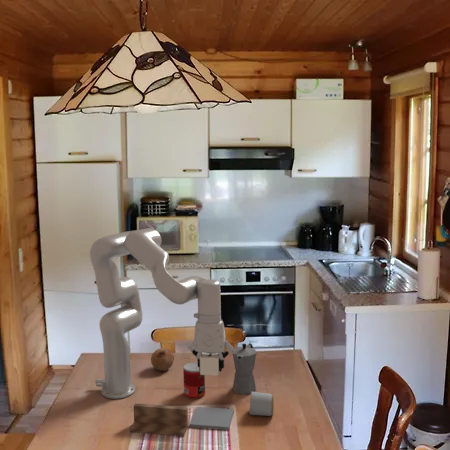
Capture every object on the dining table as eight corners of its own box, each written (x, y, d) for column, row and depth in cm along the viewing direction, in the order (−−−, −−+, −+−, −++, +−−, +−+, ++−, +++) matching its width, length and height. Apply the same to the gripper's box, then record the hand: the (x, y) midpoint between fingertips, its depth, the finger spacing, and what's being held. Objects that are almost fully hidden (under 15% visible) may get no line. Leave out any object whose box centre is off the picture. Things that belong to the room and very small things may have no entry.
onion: (164, 379, 223) (162, 363, 217) (147, 369, 227) (145, 353, 221) (179, 364, 229) (178, 348, 223) (161, 354, 234) (160, 338, 228)
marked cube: (200, 374, 180) (199, 357, 179) (204, 367, 186) (203, 350, 185) (218, 375, 179) (217, 357, 178) (221, 368, 185) (220, 350, 184)
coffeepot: (250, 398, 200) (250, 351, 197) (226, 394, 203) (226, 348, 200) (263, 381, 214) (263, 337, 211) (240, 377, 217) (240, 334, 214)
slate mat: (189, 426, 181) (189, 424, 180) (197, 409, 192) (197, 406, 192) (228, 430, 178) (228, 427, 178) (233, 411, 190) (233, 409, 190)
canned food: (202, 400, 199) (202, 371, 197) (181, 398, 201) (180, 369, 199) (207, 390, 206) (206, 363, 205) (187, 388, 208) (186, 361, 206)
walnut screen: (130, 431, 178) (129, 411, 177) (135, 423, 183) (135, 403, 182) (184, 436, 175) (183, 415, 174) (188, 427, 180) (187, 407, 179)
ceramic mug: (273, 419, 185) (273, 398, 184) (249, 418, 185) (249, 397, 184) (273, 405, 195) (274, 384, 194) (251, 404, 196) (251, 384, 195)
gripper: (181, 320, 178) (183, 372, 180) (233, 322, 175) (234, 375, 177) (186, 313, 185) (188, 363, 188) (237, 314, 182) (238, 366, 185)
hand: (210, 368), depth 182 cm, fingers closed on marked cube, 6 cm apart
